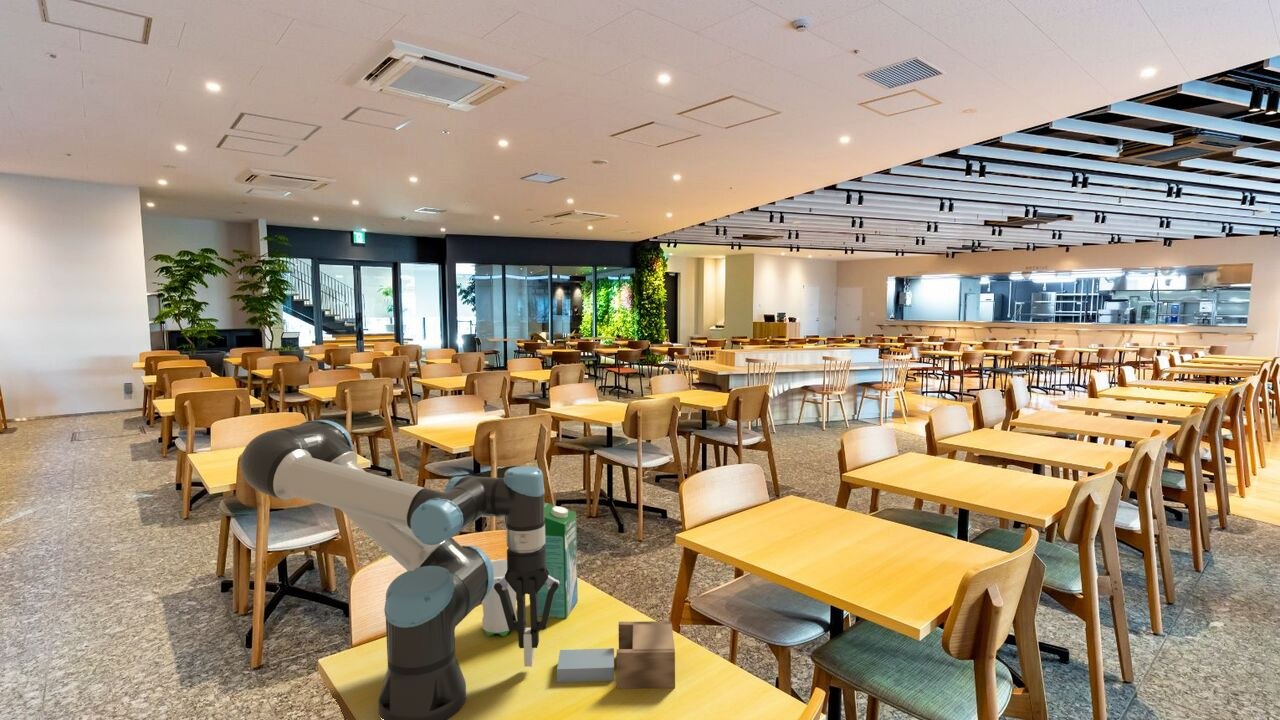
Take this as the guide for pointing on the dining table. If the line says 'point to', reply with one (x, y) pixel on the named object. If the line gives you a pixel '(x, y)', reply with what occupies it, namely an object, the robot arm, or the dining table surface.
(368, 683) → the dining table surface
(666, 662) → the brown notched block
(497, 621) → the cup
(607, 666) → the slab
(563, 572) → the milk carton
